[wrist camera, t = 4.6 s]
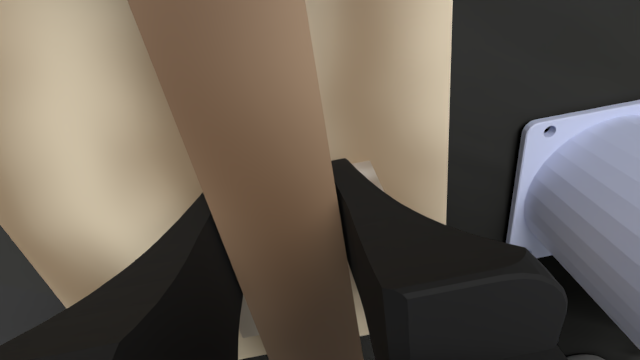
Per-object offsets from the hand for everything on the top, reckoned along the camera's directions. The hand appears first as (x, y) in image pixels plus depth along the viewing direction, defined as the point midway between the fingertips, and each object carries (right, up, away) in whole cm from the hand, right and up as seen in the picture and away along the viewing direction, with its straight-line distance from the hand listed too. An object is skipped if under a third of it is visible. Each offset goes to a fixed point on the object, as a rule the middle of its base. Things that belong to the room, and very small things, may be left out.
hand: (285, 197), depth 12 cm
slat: (0, +1, +1) cm, 2 cm away
